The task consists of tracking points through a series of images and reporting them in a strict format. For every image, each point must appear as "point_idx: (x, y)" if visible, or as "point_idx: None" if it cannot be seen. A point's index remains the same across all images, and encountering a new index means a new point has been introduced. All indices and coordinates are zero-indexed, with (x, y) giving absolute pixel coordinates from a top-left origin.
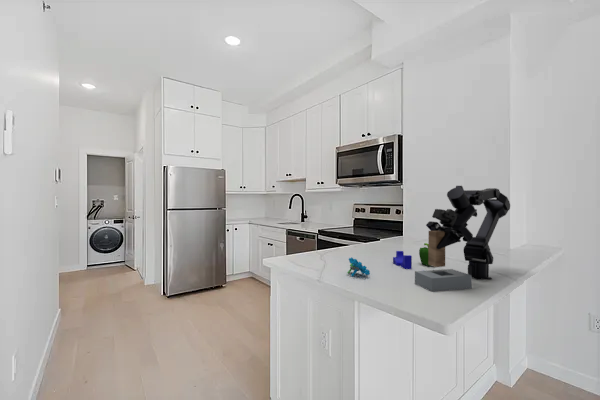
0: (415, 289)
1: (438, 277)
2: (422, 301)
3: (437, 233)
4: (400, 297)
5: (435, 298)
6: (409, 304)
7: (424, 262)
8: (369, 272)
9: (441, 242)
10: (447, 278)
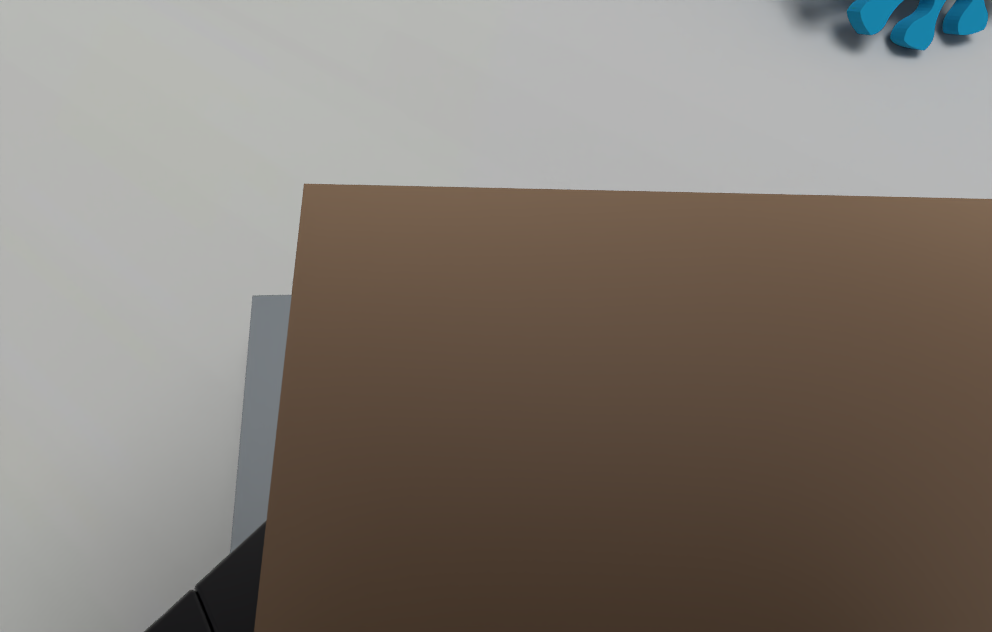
0: None
1: (260, 395)
2: (109, 117)
3: (310, 347)
4: (246, 19)
5: (126, 255)
6: (95, 3)
7: None
8: (859, 9)
9: (263, 526)
10: (239, 525)
